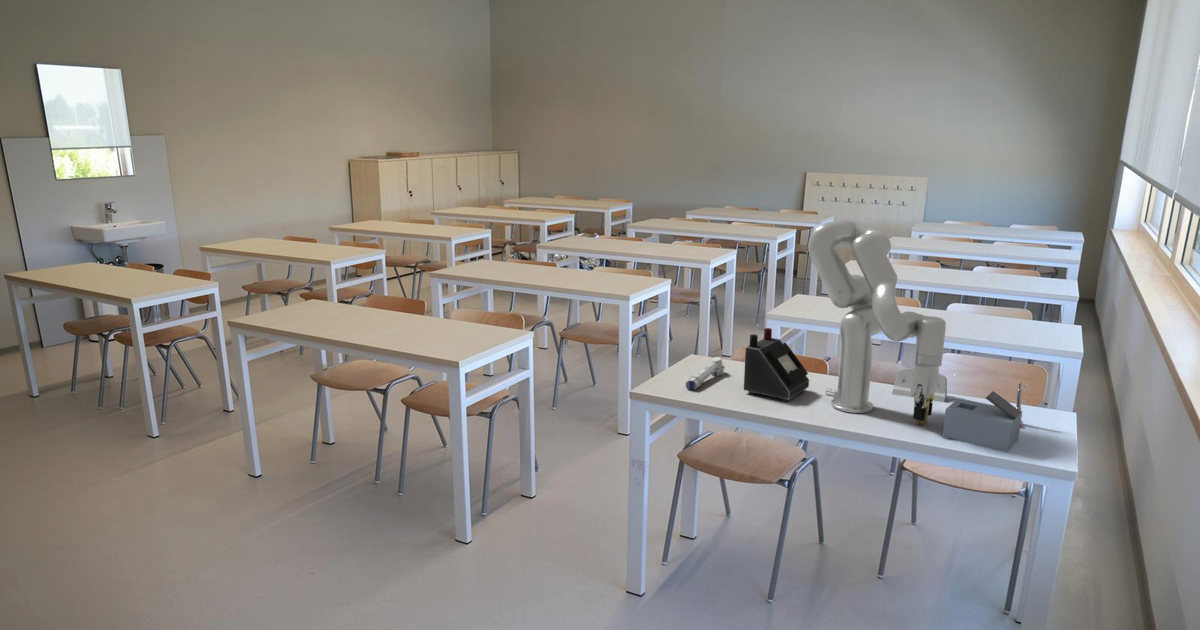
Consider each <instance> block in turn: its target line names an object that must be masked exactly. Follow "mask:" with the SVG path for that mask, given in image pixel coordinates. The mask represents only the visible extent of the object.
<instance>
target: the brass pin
mask: <svg viewBox="0 0 1200 630" xmlns="http://www.w3.org/2000/svg"><path fill="white" fill-rule="evenodd" d="M921 397H924V396H923V395H921ZM933 399H934V394H933V395H932V396H930V397H929V398H927V399H926V404H925V408H926V413H925V420H924V421H920V420H916V419H915V421H916V422H915V425H917V424H918V425H917V426H919V425H921V426H920V427H926V426H925V425H928V419H929V416H928V410H929V400H933ZM920 401H922V403H923V400H922V399H920Z"/></svg>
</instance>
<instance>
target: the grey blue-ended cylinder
mask: <svg viewBox="0 0 1200 630" xmlns="http://www.w3.org/2000/svg"><path fill="white" fill-rule="evenodd" d="M722 359H723V358H721V357H720V356H715V357H713V358H711V361H710V363H709V364H708V365H706V366H705V367H703V368H702V369H701V370H700V371H699V372H697V373H695V374H694V375H692V376H690V377H689V378H688V380H687V381H686V382H685V388H686V389H687V390H688V391H692V392H693V391H695V390H697V389H698V388H700V387H701V386H702V384H703V383H704V382H705V380H706V379H708V378H709V377H710V376H714V377H717V376H718V377H719V376H723V375H724V374H725V373H724V372H725V371H724V370H725V364H723V360H722Z"/></svg>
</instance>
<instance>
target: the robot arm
mask: <svg viewBox="0 0 1200 630" xmlns="http://www.w3.org/2000/svg"><path fill="white" fill-rule="evenodd" d="M807 247H808V249H807V250H808V253H809V258H810V259H811V262H812V263H813V266H814V268H815V269H816V272H817V273H818V275H819V277H820V280H821V282H822V284H823V286H824V288H825V290H826V292H827V295H828V297H829V300H830V301H831V303H832V304H833V305H834V306H835V307H836V308H839V309H847V308H850V310H851V311H848V312H847V313H846V314H844V315H843V316H842V317H841V321H840V323H839V338H840V339H839V340H840V341H839V342H840V348H839V349H840V351H839V352H840V353H839V367H838V381H837V389H832V388H828V387H827V388H826V389H825V395H826V397H832V398H833V399H831V407H833V408H834V409H836V410H838V411H842V412H845V413H849V414H851V413H852V414H864V413H869V412H871V411H873V409H874V404H873V403H872V402H871V401H869V398H870V397H869V396H870V386H871V385H870V384H871V376H872V375H871V374H872V360H873V347H872V346H873V345H872V337H873V336H875V335H877V334H879V333H881V332H882V333H883V334H884V336H886V337H887V338H888V339H889V340H891V341H893V342H902V341H905V340H908V339H910V338H914V337H915V338H916V339H915V349H914V357H913V358H914V359H913V362H914V364H915V365H914V367H913V368H914V373H913V378H912V385H911V392H910V395H911V396H914V395H915V397H913V402H914V405H913V413H912V414H913V415H912V418H913V420H915V421H916V420H920V421H924V420H925V413H926V408H925V404H926V399H927V398H929V397H930V396H932V395H933V394H934V393H935V392H936V390H937V385H938V374H940V372H939V370H940V369H939V367H941V366H943V357H944V347H945V337H946V336H945V335H946V327H947V323H946V320H945V319H943V318H941V317H938V316H933V315H931V316H928V315H924V314H921V313H917V312H914V311H904V312H902V313H901V310H900V309H899V306H898V304H897V302H896V298H895V290H896V286H897V283H898V274H897V272H896V271H895V269H894V267H893V265H892V262H891V261H890V259H889V257H888V254H889V253H890V251H891V248H892V244H891V240H890V238H889V236H887V235H886V234H885V233H883V232H882V231H880V230H877V229H874V228H872V227H869V226H866V225H864V224H861V223H858V222H856V221H853V220H850V219H840V220H835V221H834V220H833V221H828V222H824V223H822V224H820V225H819V226H817V227H816V228H815V229H814V230H813V231H812V232H811V235H810V236H809V240H808V245H807ZM843 247H844V248H848V249H851V252H852V256H853V257H854V259H855V261H856V263H857V265H858V268H860V271H861V273H862V275H863V276H862V275H860V274H851V273H850V272H849V269H848V268H847V265H846V263H845V261H844V260H843V258H842V257H841V256H840V254H838V253H837V249H840V248H843ZM921 395H923V396H924V397H921ZM920 399H922V400H923V403H922V401H920ZM933 402H934V401H933V400H929V410H928V417H929V416H932V412H933Z"/></svg>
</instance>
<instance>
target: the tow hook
mask: <svg viewBox="0 0 1200 630" xmlns="http://www.w3.org/2000/svg"><path fill="white" fill-rule="evenodd" d="M1022 384H1023V383H1022V382H1018V389H1017V390H1016V391H1017V393H1016V402H1015V403H1016V406H1015V408H1017V409H1018V410H1019V411H1022V396H1023V395H1022V393H1023V389H1022ZM1020 428H1022V424H1021V425H1020Z"/></svg>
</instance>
